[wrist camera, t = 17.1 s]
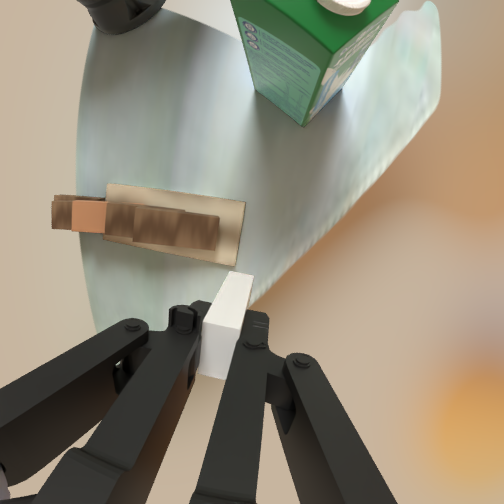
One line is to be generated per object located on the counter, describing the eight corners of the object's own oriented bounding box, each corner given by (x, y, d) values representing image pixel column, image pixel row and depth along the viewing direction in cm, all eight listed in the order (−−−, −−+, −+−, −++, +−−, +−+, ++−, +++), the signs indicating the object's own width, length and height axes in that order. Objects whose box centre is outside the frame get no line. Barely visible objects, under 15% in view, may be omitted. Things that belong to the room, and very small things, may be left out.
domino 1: (114, 201, 39) (57, 200, 37) (110, 202, 37) (51, 201, 35) (113, 229, 40) (57, 226, 38) (109, 232, 38) (51, 228, 36)
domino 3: (185, 209, 38) (110, 201, 35) (185, 211, 36) (106, 202, 33) (181, 240, 39) (107, 231, 36) (181, 243, 37) (104, 234, 34)
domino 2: (105, 197, 40) (61, 194, 41) (99, 198, 38) (54, 195, 39) (104, 224, 41) (60, 218, 42) (97, 226, 39) (53, 219, 40)
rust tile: (144, 203, 38) (76, 200, 35) (142, 205, 37) (72, 201, 33) (142, 233, 39) (75, 228, 36) (140, 235, 38) (71, 231, 34)
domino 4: (218, 215, 38) (137, 206, 34) (220, 218, 36) (135, 208, 33) (213, 247, 39) (134, 238, 35) (214, 251, 37) (132, 241, 34)
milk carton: (303, 128, 35) (340, 37, 11) (253, 89, 34) (220, -28, 10) (342, 87, 33) (410, -16, 9) (294, 50, 32) (305, -73, 8)
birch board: (110, 183, 39) (107, 183, 38) (245, 202, 38) (244, 202, 37) (106, 238, 41) (102, 239, 40) (235, 264, 40) (234, 266, 39)
